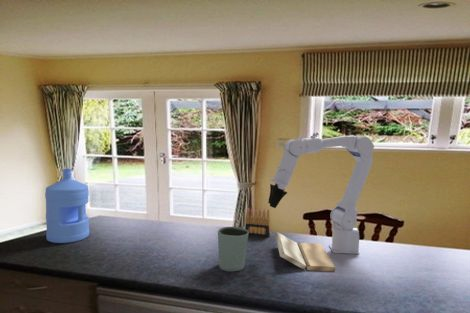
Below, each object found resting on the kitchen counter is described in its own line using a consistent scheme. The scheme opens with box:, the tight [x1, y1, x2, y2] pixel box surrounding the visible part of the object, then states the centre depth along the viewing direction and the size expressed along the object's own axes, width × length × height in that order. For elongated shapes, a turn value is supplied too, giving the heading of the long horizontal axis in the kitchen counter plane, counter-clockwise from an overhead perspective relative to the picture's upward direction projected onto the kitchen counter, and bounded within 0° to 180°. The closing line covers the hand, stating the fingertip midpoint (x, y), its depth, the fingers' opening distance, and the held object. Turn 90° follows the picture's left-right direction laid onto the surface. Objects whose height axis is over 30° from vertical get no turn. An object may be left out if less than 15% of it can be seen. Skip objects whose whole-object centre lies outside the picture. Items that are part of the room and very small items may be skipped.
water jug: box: [44, 168, 90, 244], centre depth 135 cm, size 16×16×28 cm
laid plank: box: [297, 242, 336, 272], centre depth 120 cm, size 9×22×2 cm, turn 177°
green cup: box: [217, 226, 249, 272], centre depth 111 cm, size 10×10×12 cm
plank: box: [274, 231, 306, 270], centre depth 120 cm, size 9×22×2 cm, turn 177°
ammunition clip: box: [244, 207, 271, 238], centre depth 143 cm, size 11×2×12 cm, turn 75°
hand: (271, 205), depth 122 cm, fingers open, 7 cm apart
